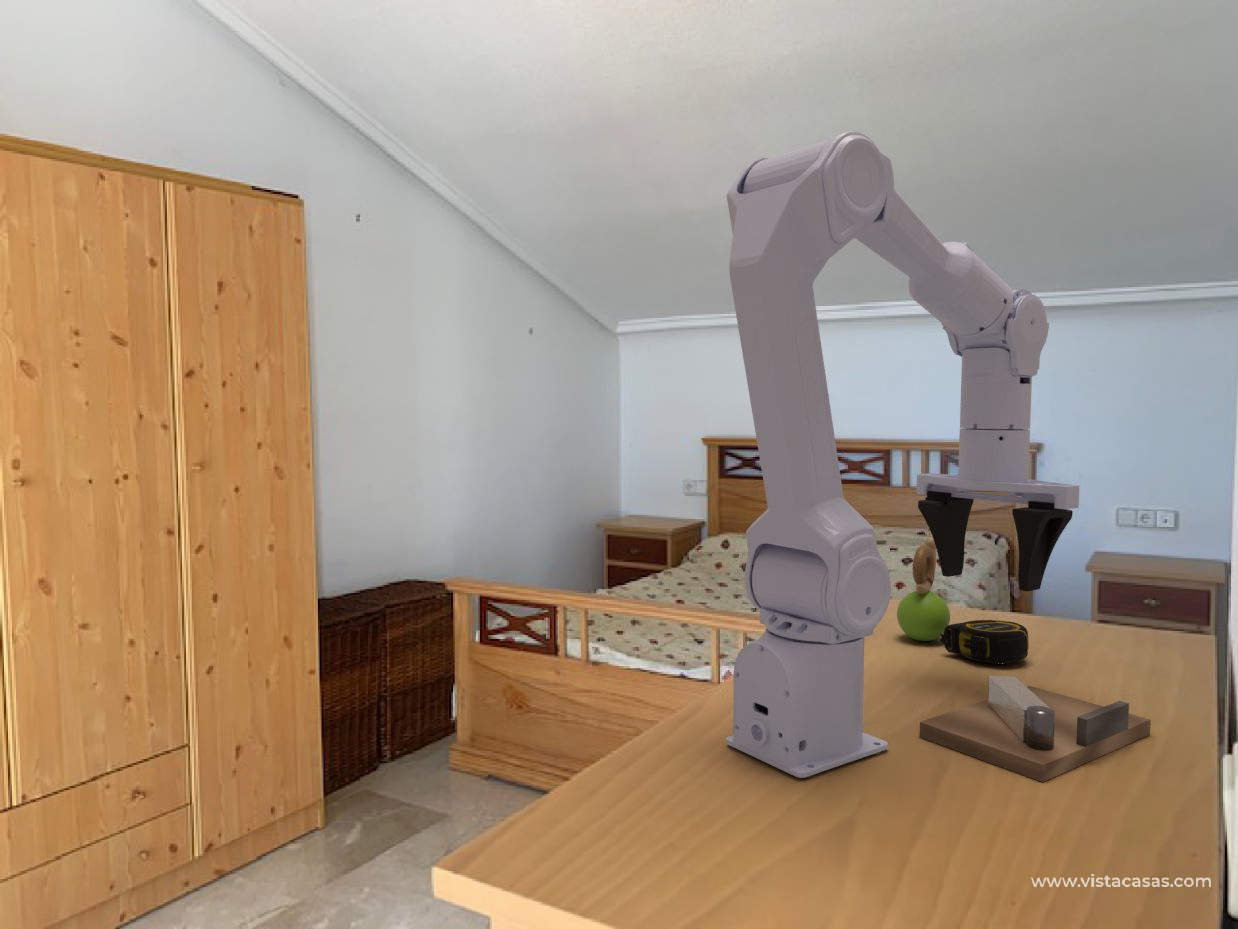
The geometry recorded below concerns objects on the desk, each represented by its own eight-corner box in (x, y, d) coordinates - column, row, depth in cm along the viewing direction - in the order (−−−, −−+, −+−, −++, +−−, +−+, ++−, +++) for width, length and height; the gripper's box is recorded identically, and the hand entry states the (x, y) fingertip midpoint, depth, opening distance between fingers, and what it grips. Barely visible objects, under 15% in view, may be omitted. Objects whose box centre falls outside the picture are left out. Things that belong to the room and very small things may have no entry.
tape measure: (989, 648, 95) (990, 613, 94) (1044, 665, 88) (1044, 628, 88) (939, 656, 92) (940, 620, 92) (991, 675, 86) (992, 636, 85)
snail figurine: (956, 636, 99) (959, 527, 98) (943, 650, 93) (945, 535, 93) (906, 629, 102) (908, 524, 101) (890, 642, 96) (892, 531, 95)
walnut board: (1042, 782, 61) (1044, 736, 61) (919, 737, 70) (920, 696, 69) (1150, 734, 70) (1151, 694, 70) (1028, 699, 78) (1030, 663, 78)
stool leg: (1059, 750, 64) (1060, 714, 64) (1030, 749, 64) (1031, 714, 64) (1014, 705, 73) (1014, 674, 73) (988, 704, 73) (989, 673, 73)
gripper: (1101, 430, 75) (1094, 591, 76) (950, 426, 87) (946, 565, 88) (1054, 432, 71) (1048, 601, 72) (903, 427, 83) (900, 572, 84)
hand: (989, 582), depth 80 cm, fingers open, 7 cm apart
